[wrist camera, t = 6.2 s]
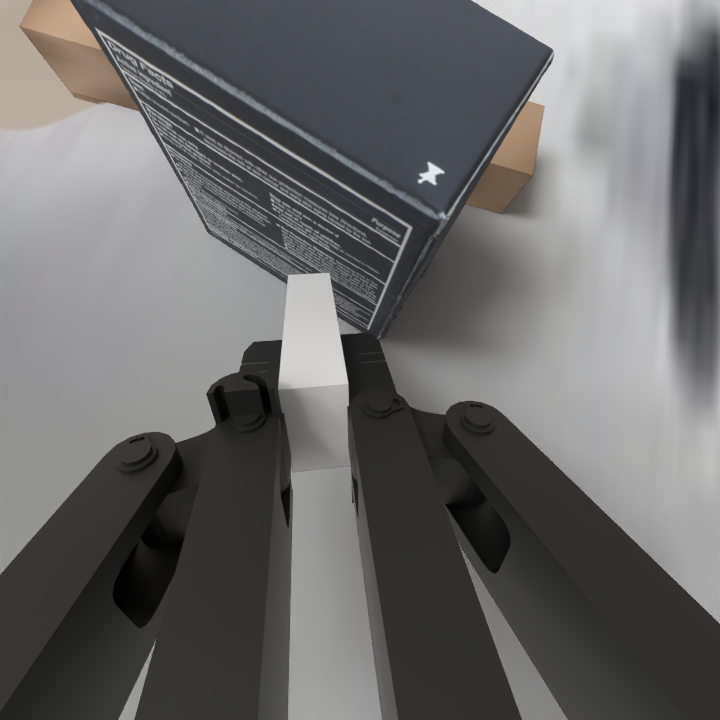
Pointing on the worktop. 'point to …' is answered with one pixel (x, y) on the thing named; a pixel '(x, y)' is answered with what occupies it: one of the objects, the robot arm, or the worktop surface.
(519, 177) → the long brown wooden bar
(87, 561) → the robot arm
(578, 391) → the worktop surface
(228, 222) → the small box
